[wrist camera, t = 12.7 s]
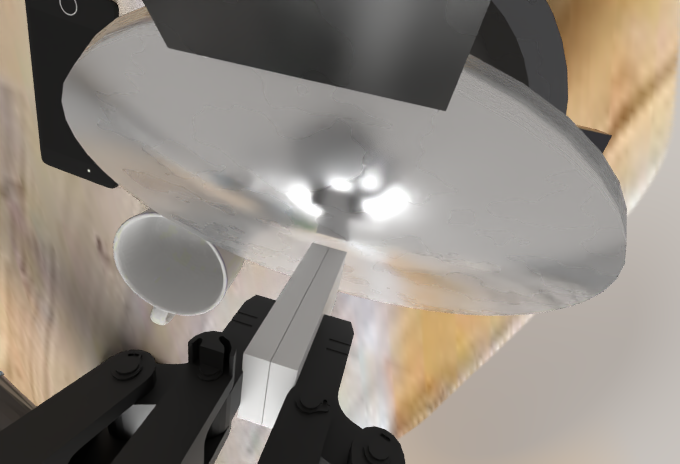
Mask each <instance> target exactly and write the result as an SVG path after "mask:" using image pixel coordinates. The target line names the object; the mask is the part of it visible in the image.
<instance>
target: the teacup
mask: <svg viewBox="0 0 680 464" xmlns="http://www.w3.org/2000/svg"><path fill="white" fill-rule="evenodd" d="M113 243H114V245H113V250H114V251H113V252H114V259H115V264H116V266H117V269H118V271H119V273H120V275H121V276H122V278H123V280H124V281H125V282H126V284H127V285H128V286H129V287H130V288H131V290H132V291H133V292H135V293H136V294H137V295H138V296H139V297H140V298H142V299H143V300H145V301H146V302H148V303H149V304H150V305H153V306H154V307H153V309H152V311H151V315H150V318H151V320H152V321H153V322H154V323H157V324H159V325H165V324H167V323H168V322H170V321H171V320H172V318H173V317H174V316H175V315H176V314H178V315H184V316H193V315H199V314H203V313H206V312H208V311H210V310H212V309H213V308H214V307H216V305H218V304H219V302H220V301H221V300H222V298H223V297H224V295H225V293H226V291H227V290H228V288H229V287H230V285H231V284H232V282H233V281H234V279H235V278H236V276H237V275H238V273H239V271H240V270H241V267H242V265H243V263H244V258H242V257H240V256H238V255H235V254H233V253H231V252H229V251H227V250H224V249H222V248H220V247H218V246H216V245H214V244H212V243H210V242H208V241H206V240H204V239H202V238H200V237H198V236H196V235H195V234H193V233H191V232H189V231H187V230H185V229H184V228H182V227H180V226H178V225H177V224H175V223H173V222H171V221H170V220H168V219H167V218H165V217H163V216H162V215H160V214H159V213H157V212H155V211H154V210H152V209H151V208H150V209H148V210H146V211H144V212H143V213H141V214H138V215H136V216H133V217H131V218H130V219H128V220H127V221H126V222H125V223H123V224H122V226H121V227H120V228H119V229H118V231H117V233H116V236H115V238H114V242H113Z"/></svg>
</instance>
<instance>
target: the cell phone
mask: <svg viewBox="0 0 680 464" xmlns="http://www.w3.org/2000/svg"><path fill="white" fill-rule="evenodd" d="M25 4H26V13H27V23H28V33H29V42H30V52H31V62H32V71H33V81H34V91H35V101H36V110H37V120H38V130H39V139H40V149H41V156H42V160H43V162H44V163H46V164H47V165H50V166H52V167H55V168H58V169H60V170H63V171H65V172H68V173H71V174H73V175H76V176H79V177H81V178H84V179H87V180H89V181H92V182H95V183H97V184H100V185H103V186H105V187H108V188H115V187H117V186H118V184H117V183H116V182H115V181H114V180H113V179H112V178H111V177H110V176H108V175H107V174H106V173H105V172H104V171H103V170H102V169H101V168H100V167H99V166H98V165H97V164H96V163H95V162H94V161H93V160H92V159H91V157H90V156H89V155H88V154H87V153H86V152H85V150H84V149H83V148H82V146H81V145H80V143H79V142H78V141H77V139H76V138H75V136H74V134H73V132H72V130H71V129H70V127H69V125H68V123H67V121H66V118H65V114H64V109H63V105H62V92H63V83H64V81H65V79H66V78H67V76H68V74H69V73H70V71H71V69H72V68H73V66H74V64H75V63H76V61H77V60H78V59H79V57H80V56H81V54H82V53H83V52H84V50H85V49H86V47H87V46H88V45H89V43H90V42H91V41H92V39H93V38H94V36H95V35H96V34H97V33H99V32H100V31H101V30H102V29H104V28H105V27H106V26H107V25H109V24H110V23H111V22H112V21H114V20H115V19H116V18H118V17H119V8H118V5H117V4H116V3H115V2H114V1H112V0H25Z"/></svg>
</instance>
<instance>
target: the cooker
mask: <svg viewBox="0 0 680 464" xmlns="http://www.w3.org/2000/svg"><path fill="white" fill-rule="evenodd" d="M469 54H471V55H473V56H475V57H476V58H478V59H480V60H482V61H484V62H485V63H487V64H489V65H491V66H493V67H495V68H496V69H498V70H500V71H502V72H504V73H505V74H507V75H509V76H511V77H513V78H515V79H516V80H518V81H520V82H522V83H523V84H525V85H526V86H527V87H529V88H530V89H531V90H533V91H534V92H535V93H537V94H538V95H539V96H541V97H542V98H543V99H545V100H546V101H547V102H549V103H550V104H551V105H553V106H554V107H555V108H557V109H558V110H559V111H561V112H562V113H564V114H565V115H566V110H567V102H568V82H567V66H566V60H565V54H564V49H563V43H562V39H561V36H560V33H559V30H558V27H557V24H556V21H555V18H554V15H553V13H552V11H551V9H550V7H549V5H548V3H547V1H546V0H491V1H490V4H489V6H488V9H487V11H486V13H485V16H484V18H483V21H482V23H481V26H480V28H479V31H478V33H477V36H476V38H475V41H474V43H473V46H472V48H471V50H470V53H469ZM576 126H577V127H578V128H579V129H580V130H581V131H582V132H583V133H584V134H585V135H586V136H587V137H588V138H589V139H590V140H591V141H592V142H593V143H594V144H595V146H596V147H597V148H598V149H599V150H600V151H601V152H602V153H603V151H604V150H605V148H606V146H607V144H608V142H609V140H610V138H611V136H612V135H609V134H607V133H604V132H602V131H599V130H596V129H592V128H587V127H583V126H578V125H576Z"/></svg>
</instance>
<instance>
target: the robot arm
mask: <svg viewBox="0 0 680 464" xmlns="http://www.w3.org/2000/svg"><path fill="white" fill-rule="evenodd" d="M346 255H347V252H345V251H341V250H337V249H334V248H329V247H327V246H323V245H319V244H316V243H312V244H311V246H310V247H309V249H308V250H307V252H306V254H305V255H304V257H303V258H302V260H301V262H300V263H299V265H298V266H297V268H296V270H295V271H294V273H293V274H292V276H291V278H290V279H289V281H288V282H287V284H286V286H285V287H284V289H283V290H282V292H281V294H280V295H279V297H278V299H277V300H272V299H269V298H266V297H262V296H259V295H256V296H254V297H252V298H250V299H249V300H247V301H245V302H244V304H243V305H242V306H241V308H240V309H239V310H238V313H236V314H235V316H234V317H233V319H232V321H230V323H229V324H228V325H227V327H226V328H225V329H224V331H223V332H217V331H210V332H204V333H201V334H199V335H196V336H195V337H193V338H192V339H191V340H190V341H189V342H188V363H185V364H157V363H156V362H155V359H154V358H153V356H152V355H151V354H150V353H148V352H145V351H142V350H129V351H125V352H121V353H119V354H117V355H115V356H113V357H111V358H109V359H108V360H106V361H105V362H103V363H102V364H100V365H99V366H97V367H96V368H94V369H93V370H91V371H90V372H88V373H87V374H85V375H84V376H82V377H81V378H79V379H78V380H76V381H75V382H73V383H72V384H70V385H69V386H67V387H66V388H64V389H63V390H61V391H60V392H58V393H57V394H55V395H54V396H52V397H51V398H49V399H48V400H46V401H45V402H43V403H42V404H40V405H39V406H35V405H34V404H33V403H32V402H31V401H30V400H29V399H28V398H27V397H26V396H24V395H23V394H22V393H21V392H20V391H19V390H18V389H17V388H16V387H15V386H14V385H13V384H12V383H11V382H10V381H9V380H8V379H7V378H6V377H5V376H3V375H4V373H3V372H2V371H0V464H214V462H215V460H216V458H217V457H218V455H219V453H220V451H221V449H222V447H223V445H224V443H225V441H226V439H227V437H228V435H229V432H230V429H231V421H232V419H233V417H234V415H235V413H236V411H237V410H238V418H241V419H244V420H247V421H250V422H252V423H255V424H258V425H262V426H264V427H267V428H270V429H272V431H271V433H270V435H269V438H268V440H267V442H266V445H265V447H264V450H263V452H262V454H261V457H260V459H259V461H258V464H405V459H404V454H403V451H402V448H401V445H400V443H399V442H398V441H397V439H396V438H395V437H394V435H392V434H391V433H389V432H388V431H386V430H385V429H382V428H379V427H366V428H364V429H362V428H360V427H359V426H357V425H356V424H355V423H353V422H352V421H351V420H350V419H349V418H347V417H346V416H345V414H344V413H343V411H342V410H341V408H340V405H339V402H338V391H339V387H340V384H341V380H342V376H343V372H344V369H345V365H346V361H347V358H348V354H349V350H350V346H351V343H352V339H353V335H354V332H353V328H352V324H351V322H349V321H345V320H342V319H339V318H335V317H332V316H331V313H332V310H333V308H334V305H335V302H336V298H337V294H338V289H339V285H340V281H341V276H342V272H343V268H344V263H345V259H346ZM238 408H239V409H238Z"/></svg>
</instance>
